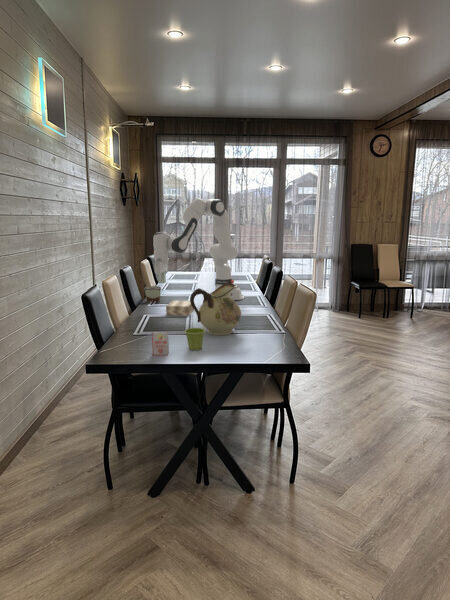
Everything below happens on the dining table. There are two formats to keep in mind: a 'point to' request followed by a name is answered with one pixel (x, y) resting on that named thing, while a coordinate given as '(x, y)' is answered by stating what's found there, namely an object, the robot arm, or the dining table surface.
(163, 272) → the sage block
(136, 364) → the dining table surface
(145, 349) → the dining table surface
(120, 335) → the dining table surface
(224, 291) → the pitcher
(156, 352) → the white printed box
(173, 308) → the birch riser block
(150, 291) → the food container
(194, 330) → the plant pot
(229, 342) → the dining table surface
